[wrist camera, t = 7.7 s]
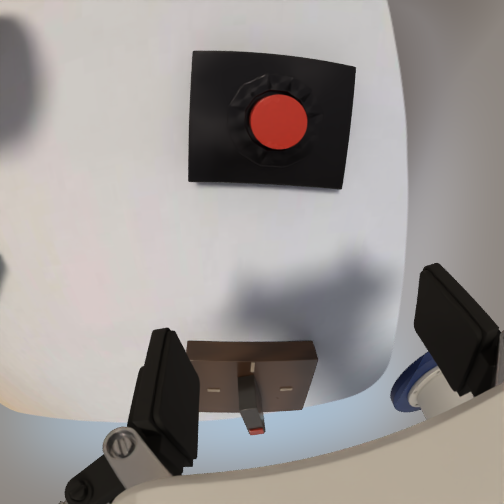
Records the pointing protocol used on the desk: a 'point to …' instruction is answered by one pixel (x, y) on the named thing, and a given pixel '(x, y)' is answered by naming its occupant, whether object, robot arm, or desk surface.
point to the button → (278, 121)
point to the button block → (238, 111)
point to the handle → (250, 405)
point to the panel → (253, 373)
